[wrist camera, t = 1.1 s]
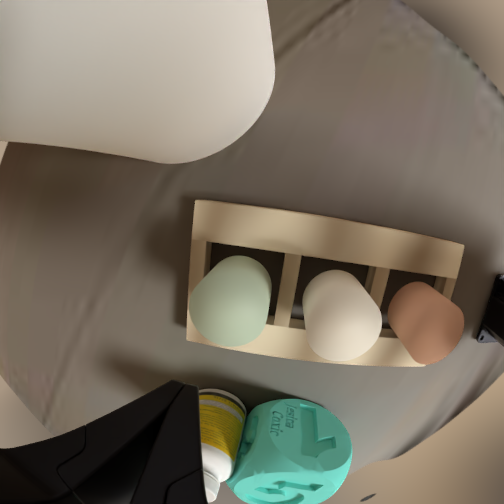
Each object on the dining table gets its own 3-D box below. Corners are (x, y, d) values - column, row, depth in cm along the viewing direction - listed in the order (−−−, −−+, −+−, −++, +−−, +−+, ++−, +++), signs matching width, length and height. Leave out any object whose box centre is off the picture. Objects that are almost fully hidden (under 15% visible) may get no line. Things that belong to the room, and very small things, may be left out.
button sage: (276, 260, 17) (273, 281, 13) (266, 319, 18) (261, 352, 14) (212, 251, 17) (190, 267, 13) (207, 309, 18) (187, 338, 14)
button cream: (369, 274, 16) (391, 296, 12) (354, 330, 17) (368, 363, 13) (308, 265, 16) (315, 287, 13) (297, 324, 17) (298, 357, 13)
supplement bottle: (187, 381, 22) (144, 463, 12) (249, 391, 21) (227, 484, 12) (191, 419, 23) (158, 494, 13) (245, 429, 22) (227, 511, 13)
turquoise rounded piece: (346, 411, 21) (359, 479, 13) (302, 454, 23) (301, 514, 15) (268, 385, 21) (258, 459, 13) (232, 433, 23) (216, 496, 15)
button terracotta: (442, 284, 16) (472, 305, 12) (425, 335, 16) (449, 363, 13) (396, 278, 16) (422, 300, 12) (380, 332, 17) (399, 364, 13)
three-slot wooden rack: (454, 241, 16) (464, 245, 15) (418, 357, 19) (424, 366, 17) (202, 199, 18) (195, 200, 17) (192, 330, 20) (186, 339, 19)
